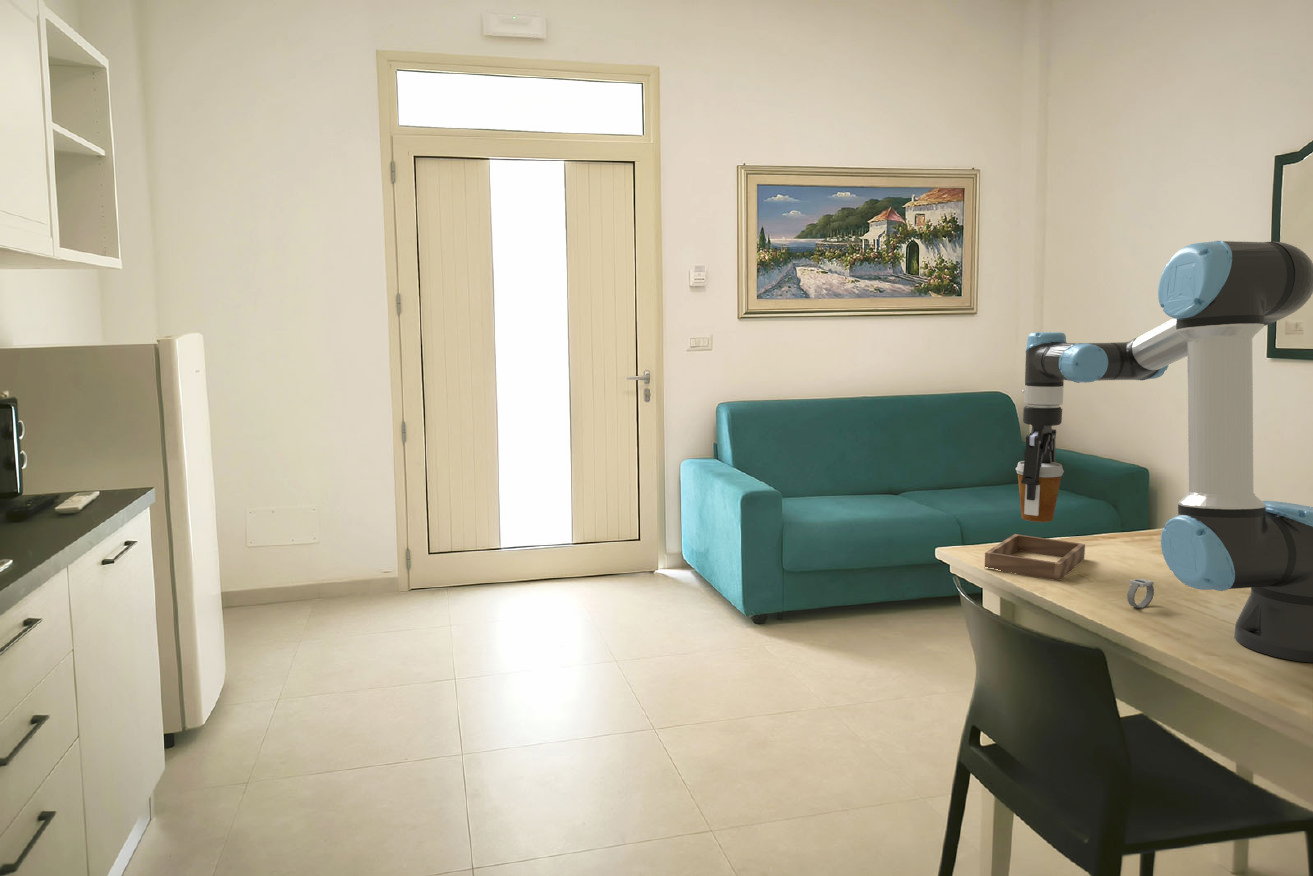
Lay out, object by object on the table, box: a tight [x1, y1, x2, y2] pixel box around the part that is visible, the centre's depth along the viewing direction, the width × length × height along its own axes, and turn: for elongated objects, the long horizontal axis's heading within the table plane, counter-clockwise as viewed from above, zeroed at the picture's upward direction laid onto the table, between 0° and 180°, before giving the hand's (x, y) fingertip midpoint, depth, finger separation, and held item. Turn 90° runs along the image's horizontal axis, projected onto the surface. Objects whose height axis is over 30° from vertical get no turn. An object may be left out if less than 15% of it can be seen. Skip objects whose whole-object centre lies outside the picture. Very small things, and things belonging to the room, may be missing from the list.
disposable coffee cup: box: [1015, 460, 1065, 523], centre depth 189 cm, size 10×10×12 cm
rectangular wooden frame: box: [984, 533, 1086, 582], centre depth 191 cm, size 20×15×4 cm
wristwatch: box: [1126, 577, 1155, 609], centre depth 162 cm, size 6×3×5 cm, turn 119°
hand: (1037, 510), depth 190 cm, fingers closed on disposable coffee cup, 8 cm apart
